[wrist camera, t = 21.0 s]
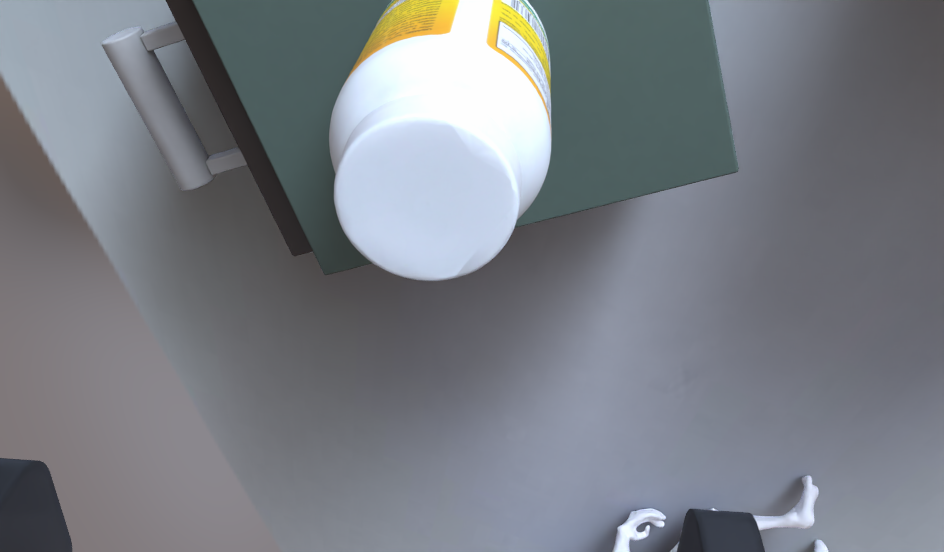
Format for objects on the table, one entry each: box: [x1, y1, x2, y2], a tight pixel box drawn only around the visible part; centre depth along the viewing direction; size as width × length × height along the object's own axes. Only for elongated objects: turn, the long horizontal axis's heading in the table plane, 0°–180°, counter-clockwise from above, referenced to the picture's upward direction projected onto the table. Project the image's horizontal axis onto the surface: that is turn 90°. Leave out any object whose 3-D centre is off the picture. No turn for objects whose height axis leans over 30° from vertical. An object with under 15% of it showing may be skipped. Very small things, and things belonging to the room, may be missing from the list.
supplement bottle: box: [329, 0, 552, 281], centre depth 23 cm, size 5×5×10 cm
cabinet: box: [192, 0, 739, 275], centre depth 31 cm, size 15×13×10 cm
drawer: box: [102, 0, 313, 256], centre depth 32 cm, size 18×11×8 cm, turn 108°
